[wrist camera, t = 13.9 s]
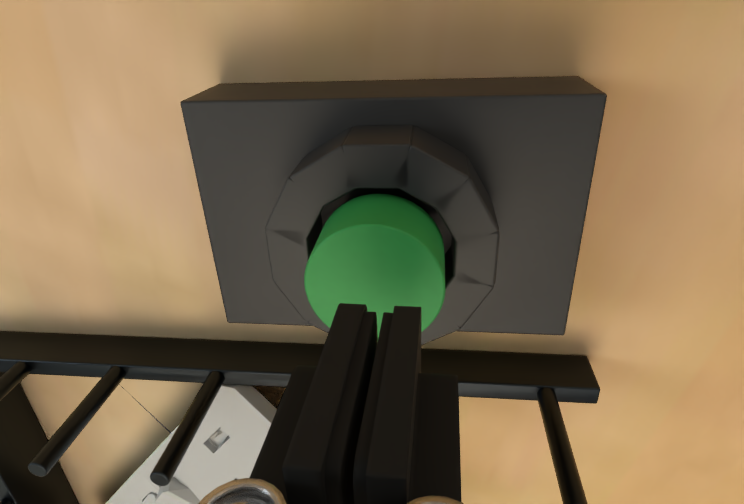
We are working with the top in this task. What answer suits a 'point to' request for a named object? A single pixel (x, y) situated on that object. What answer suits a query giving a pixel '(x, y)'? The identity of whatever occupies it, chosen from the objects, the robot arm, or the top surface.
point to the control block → (401, 187)
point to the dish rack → (240, 367)
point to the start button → (377, 259)
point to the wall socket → (207, 451)
